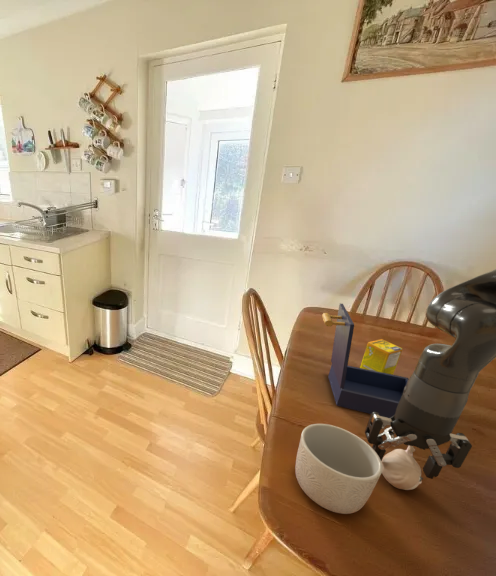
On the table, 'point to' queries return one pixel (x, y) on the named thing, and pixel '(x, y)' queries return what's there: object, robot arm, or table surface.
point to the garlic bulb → (402, 469)
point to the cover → (340, 342)
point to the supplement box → (381, 356)
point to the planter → (336, 468)
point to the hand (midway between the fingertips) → (401, 466)
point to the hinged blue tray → (368, 391)
